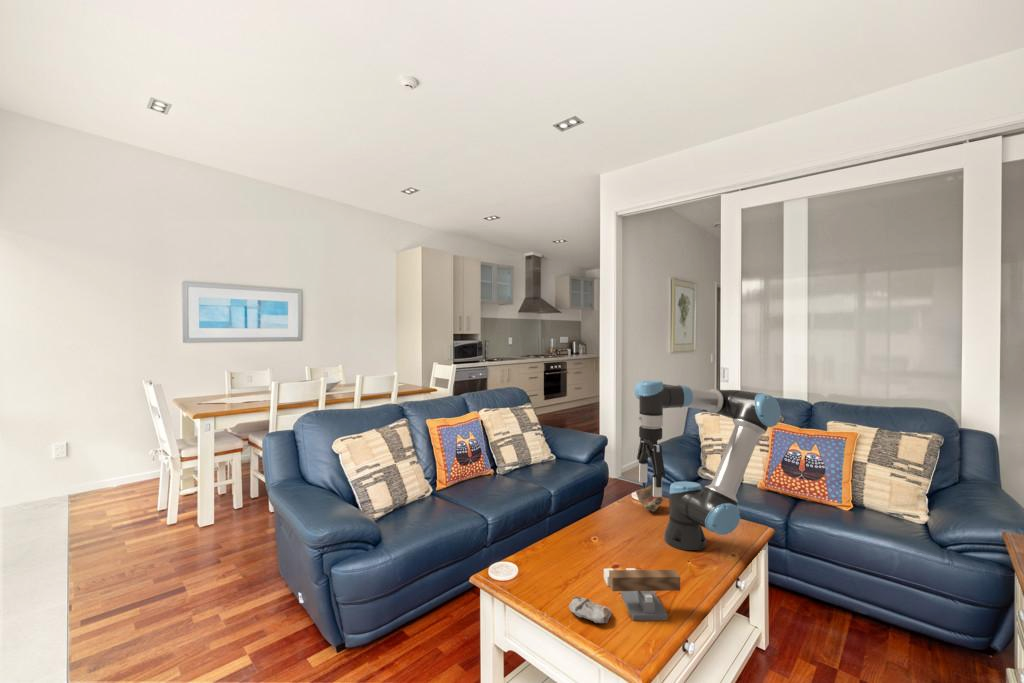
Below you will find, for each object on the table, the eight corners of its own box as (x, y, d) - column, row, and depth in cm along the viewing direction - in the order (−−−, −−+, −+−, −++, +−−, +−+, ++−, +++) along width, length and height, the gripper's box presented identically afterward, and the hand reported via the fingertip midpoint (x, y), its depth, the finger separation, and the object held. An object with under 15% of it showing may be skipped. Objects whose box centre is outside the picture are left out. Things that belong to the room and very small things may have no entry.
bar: (674, 582, 132) (674, 569, 132) (680, 590, 128) (680, 577, 128) (609, 583, 131) (609, 570, 131) (612, 591, 127) (612, 577, 127)
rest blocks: (634, 577, 146) (635, 568, 146) (639, 585, 141) (639, 576, 141) (603, 577, 145) (603, 568, 145) (607, 586, 140) (607, 576, 140)
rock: (662, 506, 207) (662, 485, 206) (665, 517, 194) (665, 494, 194) (635, 504, 209) (635, 483, 209) (636, 514, 197) (636, 492, 197)
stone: (563, 616, 125) (563, 605, 125) (576, 600, 133) (576, 589, 133) (604, 631, 119) (604, 619, 119) (614, 613, 127) (614, 602, 127)
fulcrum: (652, 594, 136) (653, 575, 136) (667, 620, 124) (668, 599, 124) (621, 595, 135) (621, 576, 135) (633, 620, 123) (633, 599, 123)
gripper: (628, 419, 160) (627, 477, 160) (652, 435, 135) (652, 503, 135) (648, 419, 160) (648, 476, 160) (676, 435, 135) (675, 503, 136)
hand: (649, 489), depth 148 cm, fingers open, 13 cm apart
